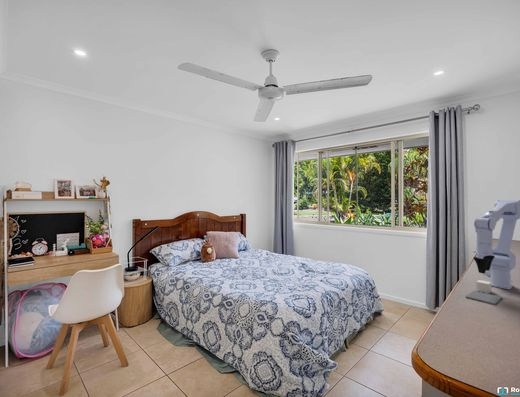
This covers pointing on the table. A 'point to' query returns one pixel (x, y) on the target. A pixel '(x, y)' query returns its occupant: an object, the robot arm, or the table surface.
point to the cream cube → (483, 286)
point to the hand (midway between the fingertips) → (484, 271)
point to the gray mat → (484, 297)
